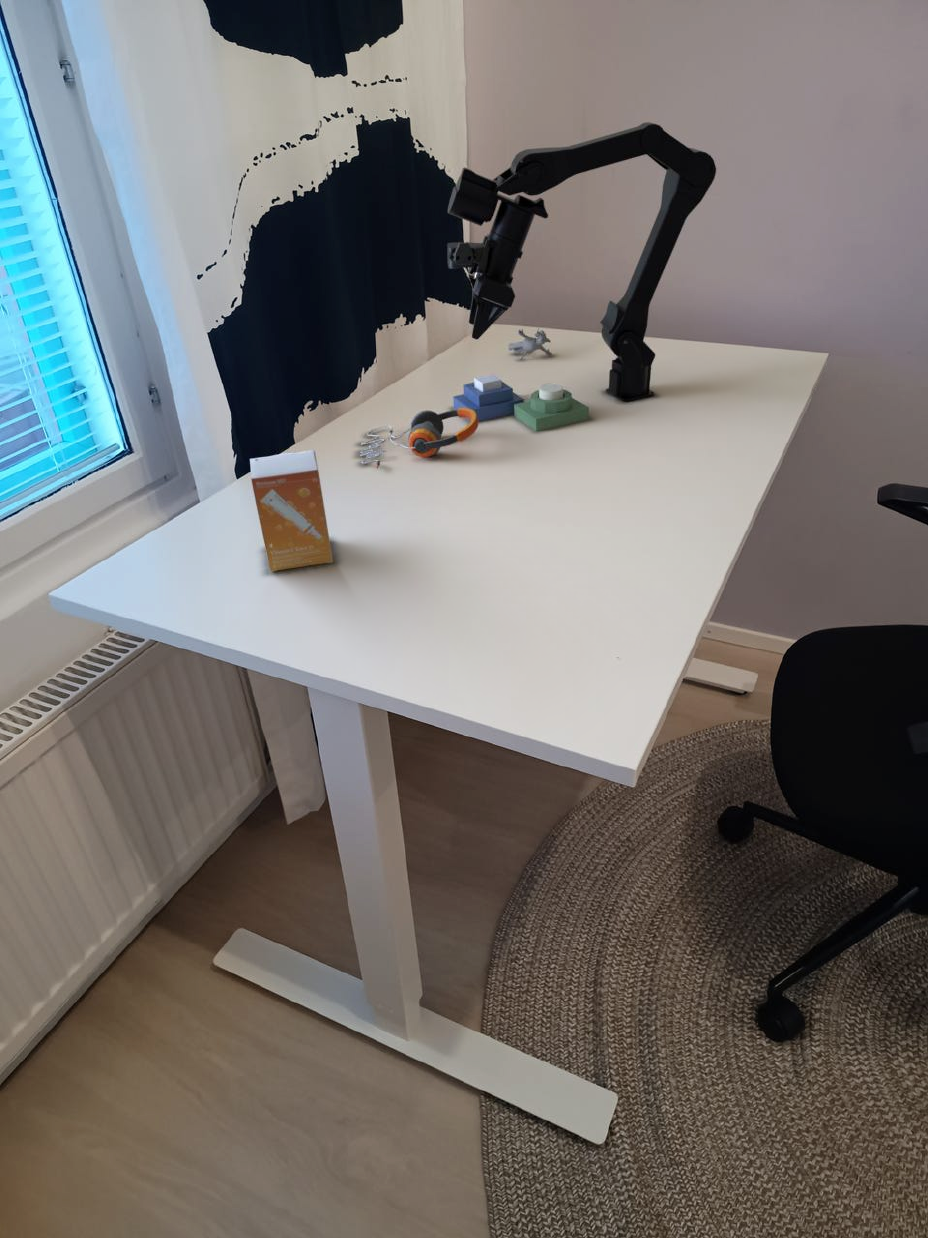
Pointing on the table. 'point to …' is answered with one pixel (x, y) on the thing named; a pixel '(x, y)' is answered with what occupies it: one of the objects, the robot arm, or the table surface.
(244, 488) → the table surface
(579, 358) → the table surface
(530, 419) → the green switch
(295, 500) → the small box
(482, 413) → the blue switch
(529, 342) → the grey figurine
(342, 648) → the table surface
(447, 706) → the table surface
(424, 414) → the headphones
